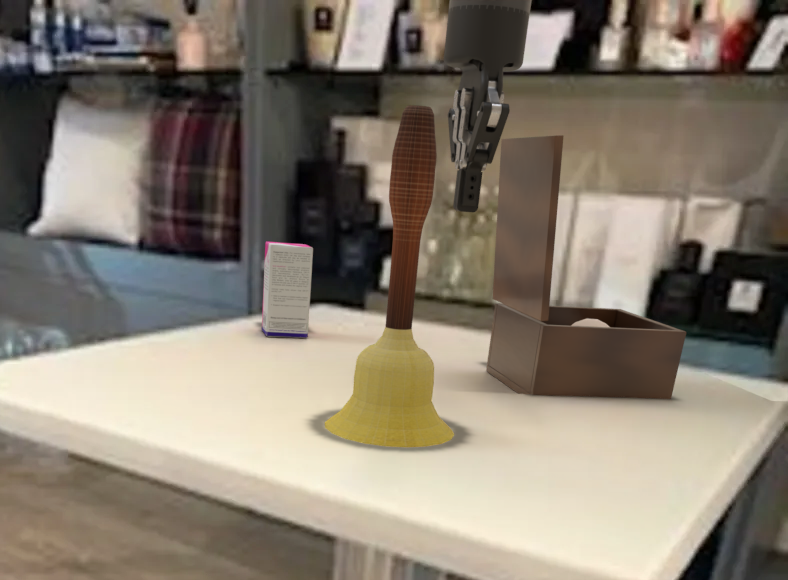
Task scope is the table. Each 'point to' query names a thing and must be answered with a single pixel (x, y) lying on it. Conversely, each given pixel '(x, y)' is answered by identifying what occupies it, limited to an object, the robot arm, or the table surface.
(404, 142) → the handbell
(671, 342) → the brown open box
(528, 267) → the lid
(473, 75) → the robot arm
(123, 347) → the table surface
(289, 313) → the supplement box
